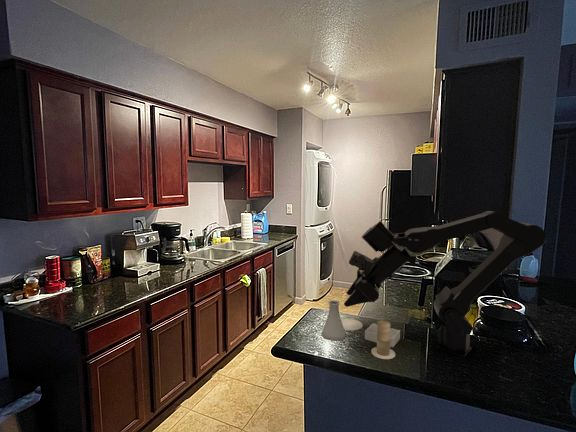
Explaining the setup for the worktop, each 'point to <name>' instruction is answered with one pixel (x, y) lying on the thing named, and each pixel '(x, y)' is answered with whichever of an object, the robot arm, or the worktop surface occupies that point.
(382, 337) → the birch peg
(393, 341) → the grey cover
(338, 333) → the flask
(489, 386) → the worktop surface
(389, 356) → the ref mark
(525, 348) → the worktop surface
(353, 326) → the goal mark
